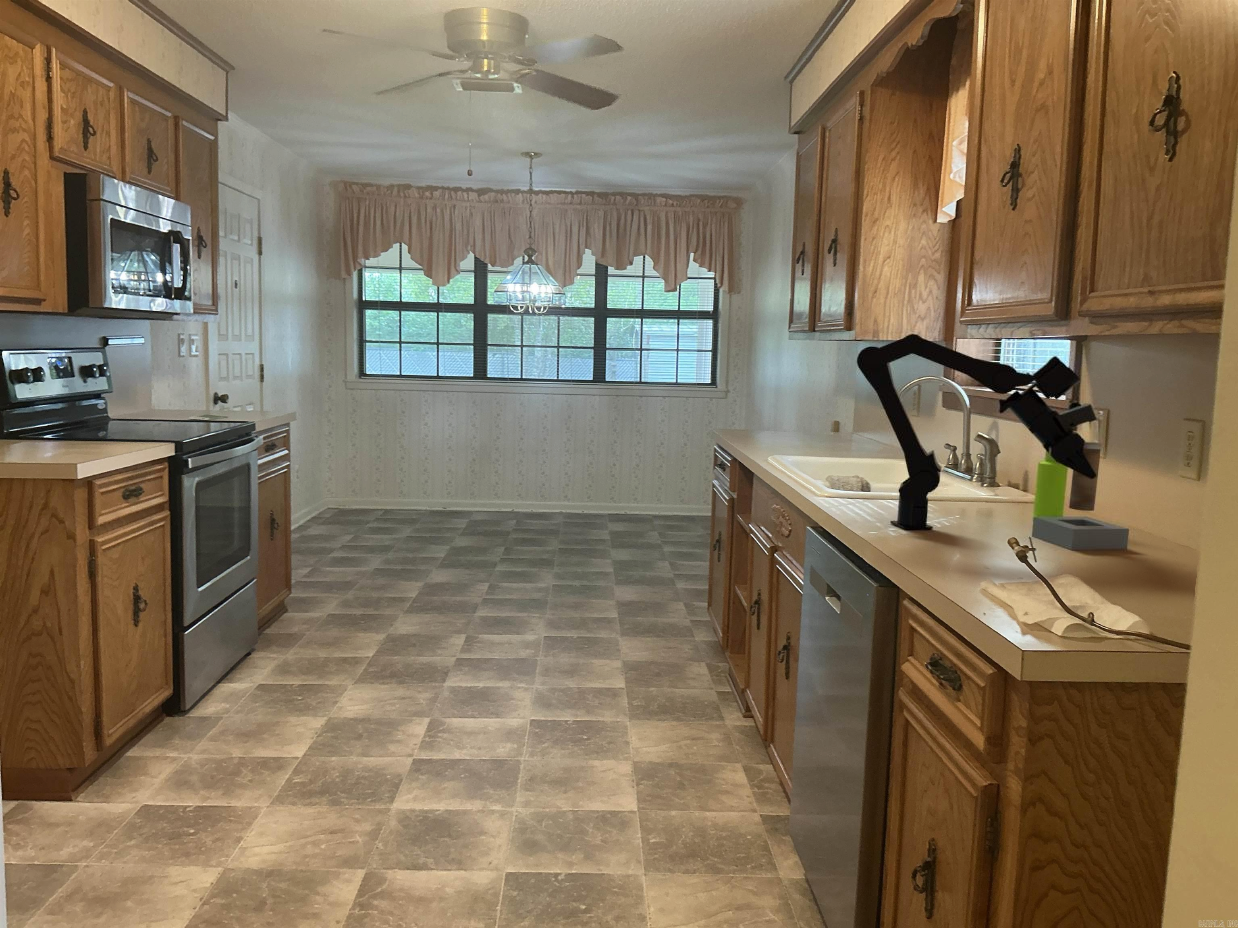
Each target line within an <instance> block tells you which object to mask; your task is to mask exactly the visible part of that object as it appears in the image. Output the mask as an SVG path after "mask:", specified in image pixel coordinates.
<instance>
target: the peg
mask: <svg viewBox="0 0 1238 928" xmlns="http://www.w3.org/2000/svg"><path fill="white" fill-rule="evenodd" d="M1102 444H1103V443H1101V442H1094V441H1085V445H1084V449H1083V453H1084V455H1085V457H1086V459H1087V460H1088V462H1089V464H1090V465H1091V467H1092V469H1093V470H1094V472H1095V474H1096V477H1095V478H1094V479H1090V478H1088V477H1086V476H1084V475H1082V474H1080V473H1078V472H1076V471H1074V470H1072V476H1071V487H1070V494H1069V496H1070V497H1069V502H1068V503H1069V506H1068V508H1069V509H1071V510H1074V511H1075V510H1076V511H1081V512H1082V511H1083V512H1085V511H1086V512H1091V511H1095V505H1096V496H1097V488H1098V479H1099V468H1100V459H1101V451H1102V446H1103V445H1102Z"/></svg>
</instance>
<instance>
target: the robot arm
mask: <svg viewBox="0 0 1238 928" xmlns="http://www.w3.org/2000/svg"><path fill="white" fill-rule="evenodd" d="M911 354H912V355H915V356H918V357H919V358H920V357H921V358H923V359H925V360H927V361H928V360H929V361H931V362H934V363H936V364H938V365H941V366H943V367H947V368H949V369H951V370H954V371H956V372H958V373H961V374H964V375H967V376H968V377H969V378H971V379H973V380H974V381H975V382H978V383H979V384H981V385H982V386H984V387H985V388H988V389H989V390H991V391H992V392H994V393H996V394H1000V395H1007V394H1009V393H1011V392H1012V391H1014V390H1015V389H1016V388H1019V387H1026V386H1028V387H1027V388H1026V389H1025V390H1023V391H1022V392H1019V390H1018V389H1017V390H1015V391H1014V392H1013V393H1011V394H1010V395H1009V396H1008V397H1006V398H1004V399H1002V398H999V399H998V409H997V410H998V413H999V414H1003V413H1004V412H1006V411H1007V410H1008V409H1009V410H1010V411H1011V413H1012V414H1014V415H1015V417H1016V418H1017V419H1018V420H1019V421H1020V422H1021V423H1022V424H1023V426H1024V427H1026V429H1027V430H1028V431H1029V432H1030V433H1031V434H1032V435H1033V436H1034V437H1035V438H1036V439H1037V441H1038V442H1039V443H1040V444H1041V445H1042V448H1043V449H1044V450H1045V452H1046V451H1047V452H1048V453H1049V454H1050V455H1051V456H1052V458H1053V459H1054V460H1055V461H1056V462H1057V463H1060V464H1062V465H1064V466H1066V467H1068V469H1070V470H1072V471H1073V470H1074V471H1076V472H1078V473H1080V474H1082V475H1084V476H1086V477H1088V478H1090V479H1094V478H1095V477H1096V474H1095V472H1094V470H1093V469H1092V467H1091V465H1090V464H1089V462H1088V460H1087V459H1086V457H1085V455H1084V453H1083V449H1084V445H1085V442H1086V440H1085V439H1084V438H1083V437H1082V436H1081V435H1080V434H1079V433H1078V432H1077V431H1074V428H1073V427H1076V426H1080V425H1082V424H1085V423H1091V422H1095V421H1096V420H1097V419H1098V418H1097V417H1096V414H1095V411H1094V409H1093V406H1092V404H1091V403H1089V402H1088V403H1084V404H1081V403H1080V402H1079V401H1077V400H1076V401H1073V402H1070V403H1068V408H1067V410H1064V411H1062V412H1058V411H1057V410H1055V409H1052V408H1051V407H1050V406H1049V404H1048V403H1047V402H1046V401H1045V400H1044V399H1043V398H1042V397H1041V396H1040V395H1039V394H1038V392H1037V391H1036V390H1035V389H1034V388H1036V389H1037V390H1038V391H1039V392H1040V393H1041V394H1042V395H1043V396H1044V397H1045V398H1046V399H1047V400H1050V399H1055V400H1058V399H1059V398H1061V397H1062V396H1064V394H1066V393H1068V392H1069V391H1070V390H1072V388H1074V386H1076V385H1077V384H1079V383H1080V382H1081V381H1082V380H1081V379H1080V377H1079V376H1078V375H1077V374H1076V373H1075V371H1074V370H1072V368H1071V367H1069V366H1068V365H1066V364H1065V363H1064V362H1063V361H1062V360H1061V359H1059V357H1058V356H1057V355H1055V356H1054V355H1053V356H1052V357H1051V358H1050V359H1049V360H1048V361H1047V362H1046V363H1045V364H1043V365H1042V366H1041V367H1039V369H1038V370H1037V371H1035V372H1034V373H1033V374H1030V372H1028V371H1027V372H1026V373H1024V372H1018V371H1017V370H1016V369H1015V368H1014V367H1013V366H1011V365H1009V364H1004V363H1000V362H995V361H990V360H985V359H981V358H975V357H972V356H970V355H967V354H964V353H962V352H960V351H956V350H954V349H951V348H948V347H947V346H944V345H941V344H939V343H936V342H934V341H930V340H929V339H926V338H923V337H921V336H920V335H919V334H916V333H910V334H907V335H905V337H903V338H900V339H898V340H894V341H892V342H890V343H887V344H884V345H882V346H880V347H879V346H867V347H866V346H865V347H864V348H863V349H861V350H860V351H859V353H858V355H857V358H856V365H857V367H858V369H859V370H860V372H861V373H862V376H863V377H864V378H865V380H866V381H867V382H868V383H869V385H870V386H871V387H872V388H873V390H874V391H875V393H876V394H877V397H878V399H879V401H880V403H881V406H882V407H883V410H884V412H885V414H886V417H887V418H888V421H889V422H890V426H891V428H892V429H893V432H894V434H895V438H896V439H897V441H898V443H899V445H900V447H901V450H902V452H903V455H904V461H905V465H906V470H907V474H908V478H906V479H905V480H904V481H903V482H901V483H900V485H899V487H898V494H899V495H898V503H897V504H898V506H897V519H896V520H890V524H892V525H894V526H896V527H898V528H901V529H904V530H933V529H934V527H933V525H930V524H927V522H928V514H929V513H928V512H929V498H928V496H929V493H932V492H934V491H935V490H936V489H937V488H939V487H938V486H939V485H940V481H941V472H942V466H941V465H940V464H939V462H938V461H937V458H936V454H935V450H931V451H929V452H927V451H926V449H925V448H924V447H923V445H922V444H921V441H920V439H919V438H918V435H917V433H916V431H915V428H914V426H913V424H912V422H911V419H910V417H909V415H908V412H907V410H906V409H905V406H904V404H903V402H902V400H901V397H900V395H899V392H898V390H897V388H896V386H895V383H894V379H893V373H892V369H891V365H890V363H892V362H895V361H898V360H899V359H902V358H905V357H907V356H910V355H911ZM1029 385H1030V386H1029Z"/></svg>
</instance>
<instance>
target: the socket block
mask: <svg viewBox="0 0 1238 928" xmlns="http://www.w3.org/2000/svg"><path fill="white" fill-rule="evenodd" d="M1129 534H1130V528H1127V527H1124V526H1121V525H1117V524H1113V523H1110V522H1108V521H1107V522H1106V521H1103V520H1100V519H1096V518H1093V517H1090V516H1063V517H1034V518H1033V517H1032V531H1031V537H1033V538H1036V539H1038V540H1041V541H1044V542H1047V543H1050V544H1053V545H1056V546H1059V547H1062V548H1065V549H1067V550H1070V551H1087V550H1088V551H1090V550H1091V551H1093V550H1097V551H1102V550H1103V551H1104V550H1105V551H1107V550H1109V551H1110V550H1127V549H1128V542H1129V536H1130V535H1129Z"/></svg>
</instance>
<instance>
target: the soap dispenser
mask: <svg viewBox="0 0 1238 928" xmlns="http://www.w3.org/2000/svg"><path fill="white" fill-rule="evenodd" d="M1044 453H1045V454H1044V455H1045V456H1044V460H1042V461H1038V462H1037V463H1038V464H1037V472H1036V482H1035V483H1036V484H1035V492H1034V502H1033V503H1034V504H1033V515H1032V519H1033V518H1034V517H1064V512H1065V511H1064V507H1065V501H1066V499H1065V498H1066V491H1067V490H1066V489H1067V480H1068V478H1067V477H1068V469H1069V468H1068V467H1066V466H1064V465H1062V464H1060V463H1057V462H1056V461H1055V460H1054V459H1053V458H1052V456H1051V455H1050V454H1049V453H1048V452H1047V451H1046V450H1045V452H1044Z"/></svg>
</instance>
